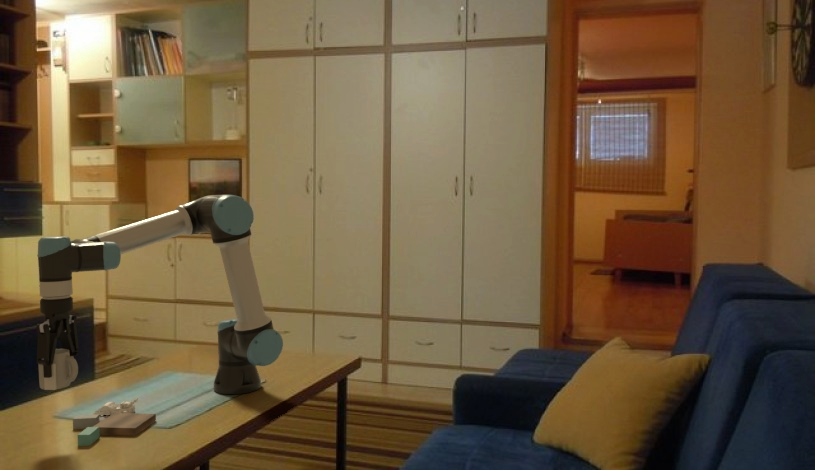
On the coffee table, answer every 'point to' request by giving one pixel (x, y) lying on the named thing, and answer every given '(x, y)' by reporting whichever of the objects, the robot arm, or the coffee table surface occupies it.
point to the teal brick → (88, 436)
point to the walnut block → (125, 423)
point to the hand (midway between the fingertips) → (59, 384)
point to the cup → (61, 369)
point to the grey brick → (85, 421)
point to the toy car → (116, 408)
